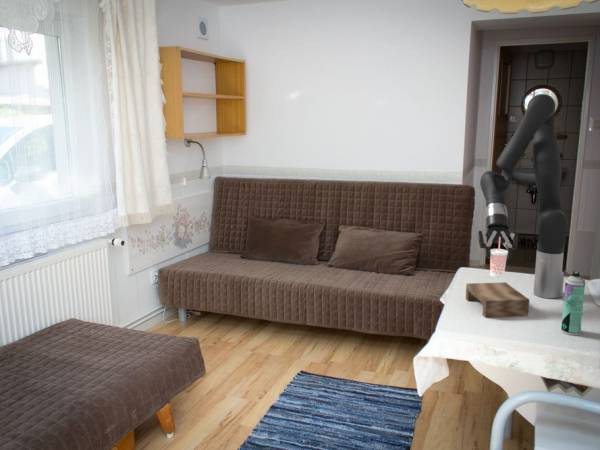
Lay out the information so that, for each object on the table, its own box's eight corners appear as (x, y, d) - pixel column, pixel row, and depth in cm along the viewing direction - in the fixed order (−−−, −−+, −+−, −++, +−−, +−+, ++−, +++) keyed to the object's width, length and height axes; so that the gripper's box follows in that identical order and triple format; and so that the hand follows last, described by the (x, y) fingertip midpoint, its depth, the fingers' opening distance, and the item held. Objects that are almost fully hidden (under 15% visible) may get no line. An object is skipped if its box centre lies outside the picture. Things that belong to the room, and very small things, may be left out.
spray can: (576, 328, 178) (581, 269, 174) (582, 335, 173) (589, 274, 169) (558, 328, 179) (563, 269, 175) (564, 335, 173) (570, 274, 169)
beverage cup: (508, 277, 193) (511, 239, 190) (491, 278, 193) (494, 239, 190) (502, 272, 199) (505, 235, 196) (485, 272, 199) (488, 235, 196)
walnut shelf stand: (504, 297, 208) (505, 282, 207) (528, 316, 190) (529, 299, 188) (465, 298, 207) (466, 283, 206) (485, 317, 189) (486, 300, 188)
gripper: (477, 211, 200) (479, 252, 191) (519, 213, 197) (523, 254, 189) (475, 223, 206) (476, 262, 198) (515, 224, 204) (518, 264, 195)
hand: (499, 258), depth 193 cm, fingers closed on beverage cup, 6 cm apart
